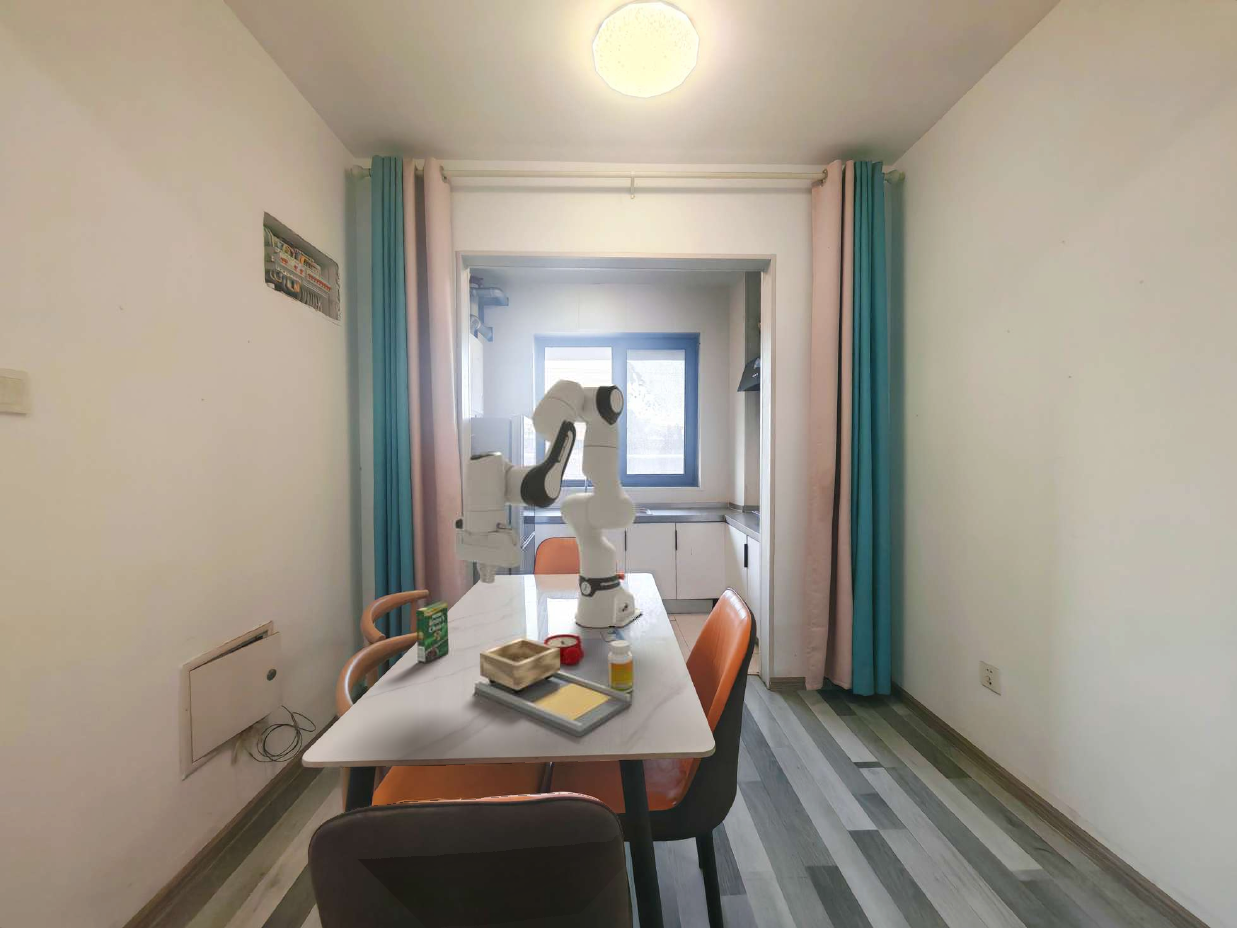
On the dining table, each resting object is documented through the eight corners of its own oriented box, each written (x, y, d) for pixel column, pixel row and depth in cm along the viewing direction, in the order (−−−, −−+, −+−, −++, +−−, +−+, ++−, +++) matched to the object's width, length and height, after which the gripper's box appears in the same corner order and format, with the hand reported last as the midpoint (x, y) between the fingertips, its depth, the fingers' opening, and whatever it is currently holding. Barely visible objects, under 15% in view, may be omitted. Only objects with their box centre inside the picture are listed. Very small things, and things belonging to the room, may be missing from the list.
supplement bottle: (638, 690, 107) (637, 644, 107) (616, 696, 104) (615, 649, 104) (624, 681, 112) (623, 637, 112) (603, 687, 109) (602, 642, 109)
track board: (528, 668, 119) (528, 660, 119) (630, 704, 101) (630, 694, 101) (474, 691, 107) (474, 682, 107) (579, 737, 89) (579, 725, 89)
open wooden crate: (523, 665, 118) (522, 637, 118) (560, 678, 111) (559, 648, 111) (480, 683, 109) (480, 652, 109) (517, 698, 101) (517, 666, 101)
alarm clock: (584, 633, 134) (581, 639, 119) (584, 658, 132) (581, 667, 118) (545, 633, 133) (536, 640, 119) (544, 659, 132) (536, 668, 117)
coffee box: (424, 664, 123) (424, 610, 123) (416, 662, 124) (415, 609, 124) (449, 653, 130) (448, 602, 130) (441, 651, 131) (440, 600, 131)
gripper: (527, 523, 113) (528, 585, 113) (471, 518, 125) (472, 574, 125) (505, 526, 108) (506, 591, 108) (449, 521, 120) (449, 579, 120)
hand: (487, 582), depth 117 cm, fingers closed
